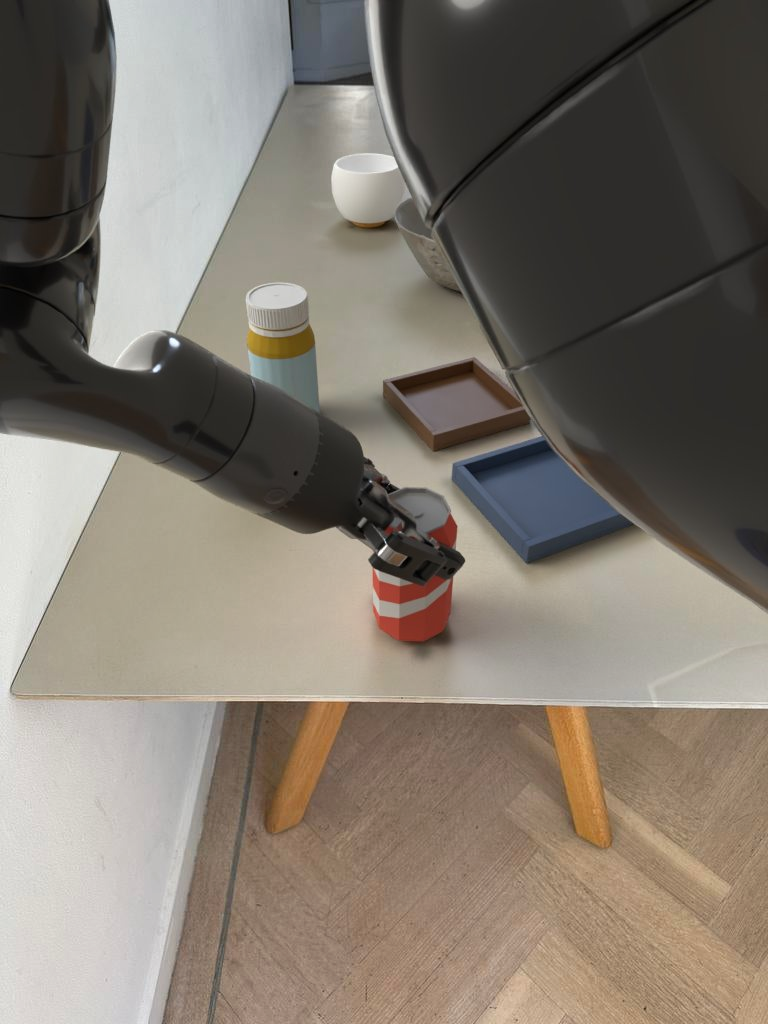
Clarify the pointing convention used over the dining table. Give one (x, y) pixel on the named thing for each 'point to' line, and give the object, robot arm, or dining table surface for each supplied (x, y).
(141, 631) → the dining table surface
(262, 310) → the bottle
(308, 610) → the dining table surface
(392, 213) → the cup
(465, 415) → the tray
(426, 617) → the beverage can
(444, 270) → the ceramic bowl
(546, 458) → the tray
